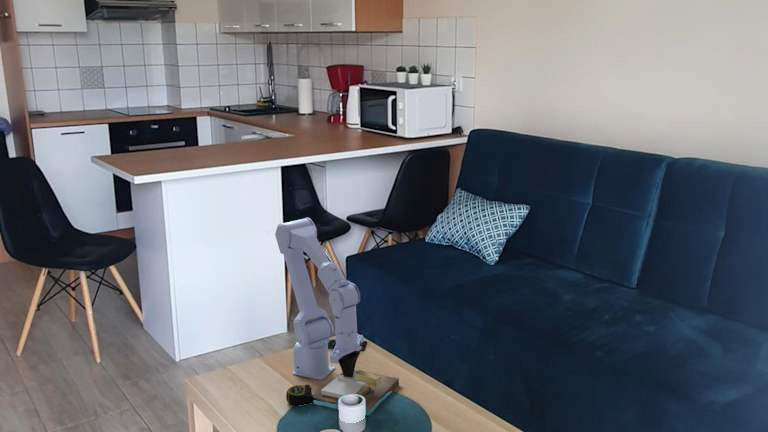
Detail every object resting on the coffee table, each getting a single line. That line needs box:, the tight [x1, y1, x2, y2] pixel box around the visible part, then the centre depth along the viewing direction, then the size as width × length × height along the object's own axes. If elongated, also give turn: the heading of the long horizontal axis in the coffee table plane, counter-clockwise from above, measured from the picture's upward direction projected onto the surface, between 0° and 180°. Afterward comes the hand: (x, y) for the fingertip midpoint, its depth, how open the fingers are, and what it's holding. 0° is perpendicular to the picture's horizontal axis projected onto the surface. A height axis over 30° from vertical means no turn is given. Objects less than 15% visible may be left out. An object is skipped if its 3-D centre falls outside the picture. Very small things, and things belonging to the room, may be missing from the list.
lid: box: [320, 374, 366, 398], centre depth 183 cm, size 9×8×2 cm
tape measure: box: [285, 384, 314, 407], centre depth 183 cm, size 7×7×4 cm
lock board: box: [313, 369, 400, 412], centre depth 186 cm, size 16×18×2 cm
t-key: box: [355, 369, 381, 396], centre depth 181 cm, size 5×7×5 cm, turn 53°
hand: (348, 377), depth 187 cm, fingers closed
